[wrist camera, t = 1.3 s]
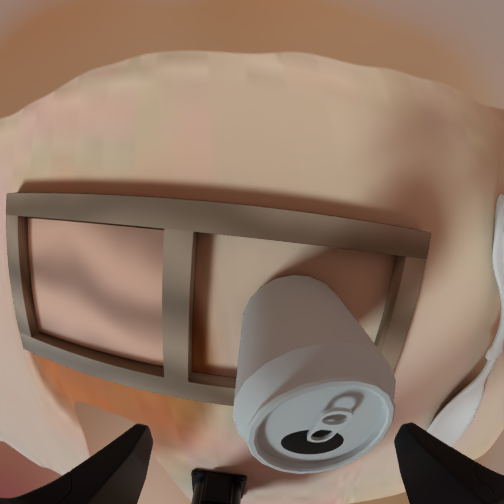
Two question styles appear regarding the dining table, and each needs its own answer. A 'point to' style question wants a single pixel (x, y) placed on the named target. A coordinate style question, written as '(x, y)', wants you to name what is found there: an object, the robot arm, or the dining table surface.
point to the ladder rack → (162, 280)
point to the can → (309, 379)
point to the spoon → (468, 400)
